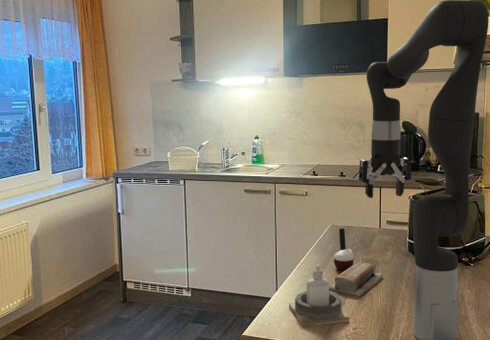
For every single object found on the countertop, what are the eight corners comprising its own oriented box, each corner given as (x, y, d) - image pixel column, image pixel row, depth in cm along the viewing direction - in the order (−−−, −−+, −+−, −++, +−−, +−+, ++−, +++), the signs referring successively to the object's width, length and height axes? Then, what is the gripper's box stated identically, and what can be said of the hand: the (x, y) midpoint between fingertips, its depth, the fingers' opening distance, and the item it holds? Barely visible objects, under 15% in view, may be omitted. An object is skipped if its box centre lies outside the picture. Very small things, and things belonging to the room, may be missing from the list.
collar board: (349, 321, 133) (349, 305, 133) (303, 326, 131) (303, 310, 130) (331, 302, 145) (331, 288, 144) (289, 307, 142) (289, 292, 142)
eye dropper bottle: (326, 314, 134) (326, 269, 133) (304, 311, 137) (304, 266, 135) (330, 308, 138) (330, 263, 137) (309, 305, 141) (309, 261, 139)
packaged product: (360, 281, 148) (327, 275, 154) (360, 298, 149) (328, 291, 154) (383, 263, 163) (352, 258, 168) (383, 278, 163) (352, 273, 169)
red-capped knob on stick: (350, 275, 167) (351, 238, 164) (330, 272, 169) (331, 236, 167) (356, 264, 175) (358, 229, 173) (337, 261, 178) (338, 227, 175)
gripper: (367, 139, 138) (366, 201, 141) (417, 137, 141) (415, 197, 144) (355, 137, 145) (354, 195, 148) (403, 135, 148) (401, 192, 151)
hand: (384, 196), depth 146 cm, fingers open, 8 cm apart
